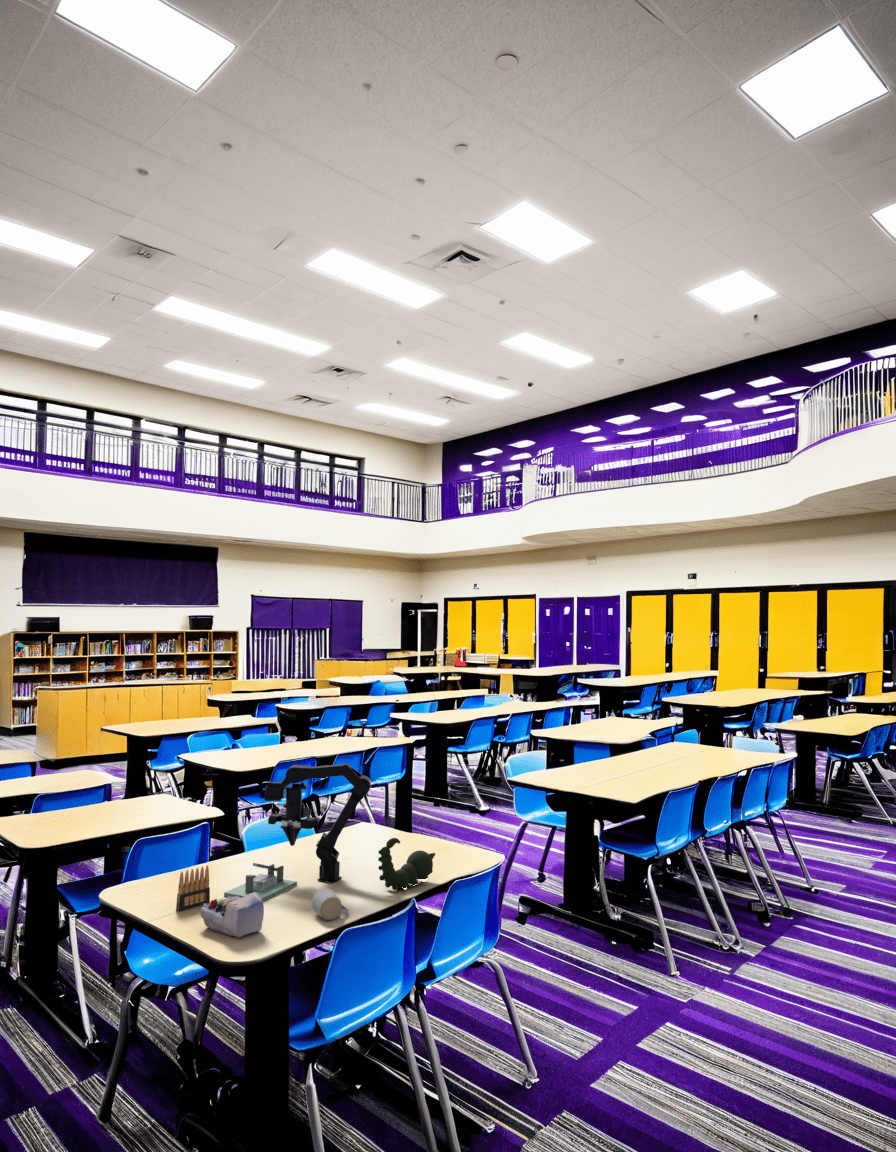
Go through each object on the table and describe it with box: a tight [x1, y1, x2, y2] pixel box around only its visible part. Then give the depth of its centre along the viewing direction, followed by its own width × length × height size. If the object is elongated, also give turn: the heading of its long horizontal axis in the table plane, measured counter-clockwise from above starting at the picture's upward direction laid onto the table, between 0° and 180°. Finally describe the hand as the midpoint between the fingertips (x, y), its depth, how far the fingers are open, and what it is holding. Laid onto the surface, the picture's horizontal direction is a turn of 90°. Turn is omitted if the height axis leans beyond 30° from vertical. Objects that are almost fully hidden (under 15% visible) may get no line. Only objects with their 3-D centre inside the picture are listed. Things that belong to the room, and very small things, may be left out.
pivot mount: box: [267, 863, 284, 883], centre depth 252 cm, size 5×3×5 cm, turn 66°
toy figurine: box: [377, 837, 436, 891], centre depth 251 cm, size 9×19×25 cm
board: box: [223, 878, 298, 903], centre depth 245 cm, size 15×20×1 cm
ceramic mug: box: [311, 887, 350, 921], centre depth 222 cm, size 11×8×8 cm
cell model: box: [199, 893, 265, 939], centre depth 211 cm, size 13×11×20 cm
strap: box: [252, 862, 277, 872], centre depth 247 cm, size 12×3×1 cm, turn 155°
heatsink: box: [253, 873, 277, 892], centre depth 245 cm, size 7×8×3 cm
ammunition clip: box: [175, 864, 211, 912], centre depth 229 cm, size 11×2×12 cm, turn 138°
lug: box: [245, 874, 257, 893], centre depth 240 cm, size 2×2×5 cm
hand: (292, 845), depth 257 cm, fingers closed
